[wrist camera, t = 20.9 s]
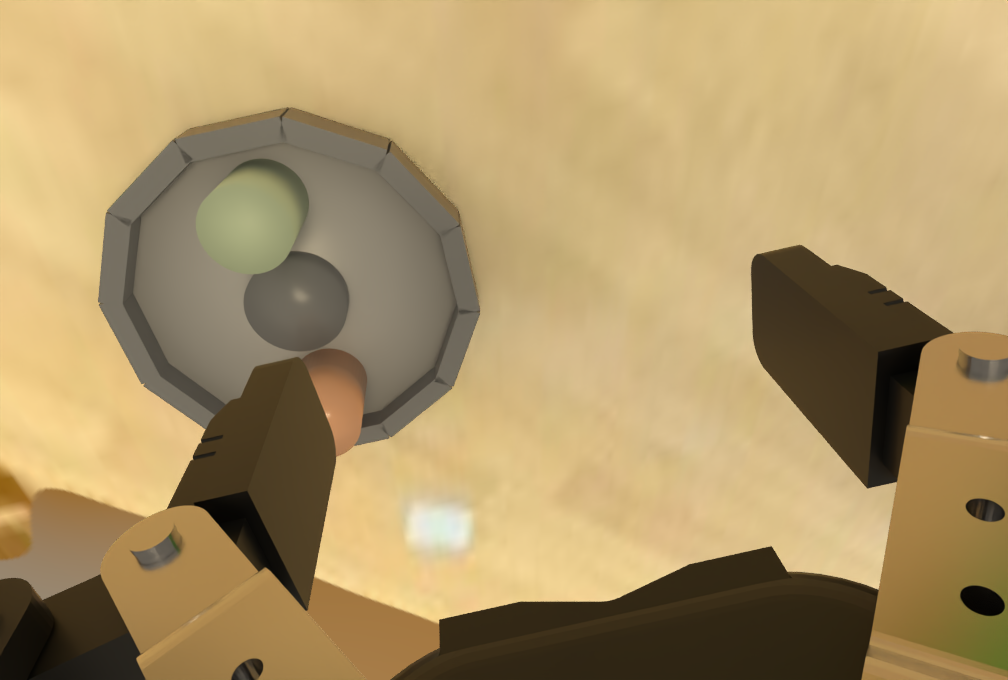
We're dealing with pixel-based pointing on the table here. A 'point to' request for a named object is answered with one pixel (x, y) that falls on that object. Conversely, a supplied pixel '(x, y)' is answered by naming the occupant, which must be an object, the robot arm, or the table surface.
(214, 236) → the pale green rounded cylinder
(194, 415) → the ring tray
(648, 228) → the table surface
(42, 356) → the table surface
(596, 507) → the table surface
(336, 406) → the terracotta bead
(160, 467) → the table surface
